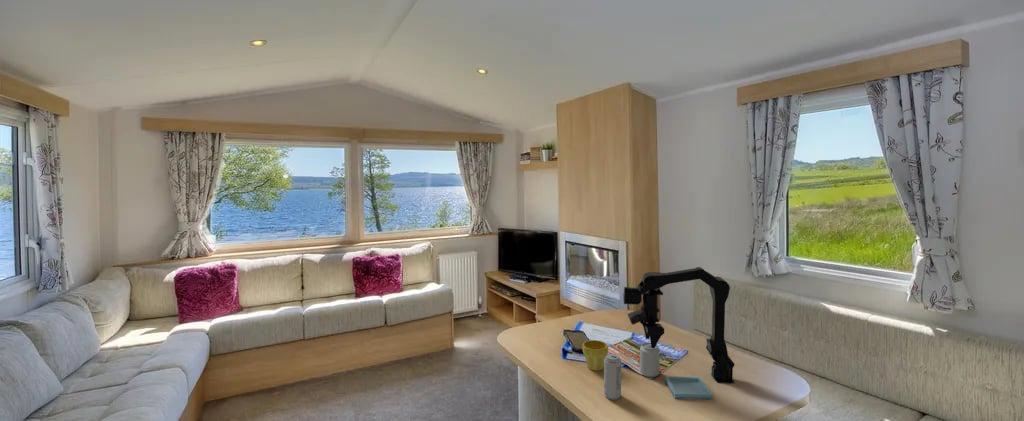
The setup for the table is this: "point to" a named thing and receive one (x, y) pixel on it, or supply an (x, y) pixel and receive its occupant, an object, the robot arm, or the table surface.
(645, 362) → the can
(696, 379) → the tray
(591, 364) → the plant pot
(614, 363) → the energy drink can
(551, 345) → the table surface
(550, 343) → the table surface
